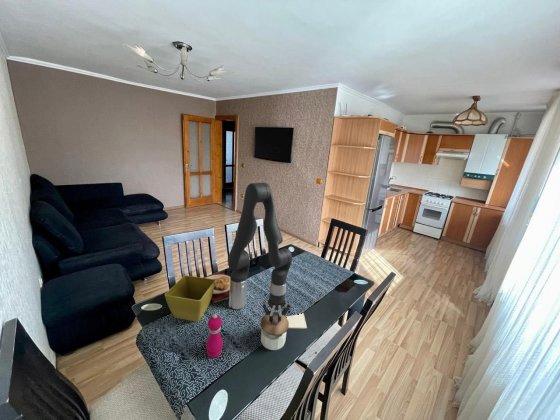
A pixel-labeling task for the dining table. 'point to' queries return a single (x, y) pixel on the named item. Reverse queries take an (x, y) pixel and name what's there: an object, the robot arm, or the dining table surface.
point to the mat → (297, 321)
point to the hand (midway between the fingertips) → (274, 321)
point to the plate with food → (220, 285)
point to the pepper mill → (214, 337)
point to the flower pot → (190, 297)
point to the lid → (274, 324)
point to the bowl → (272, 340)
